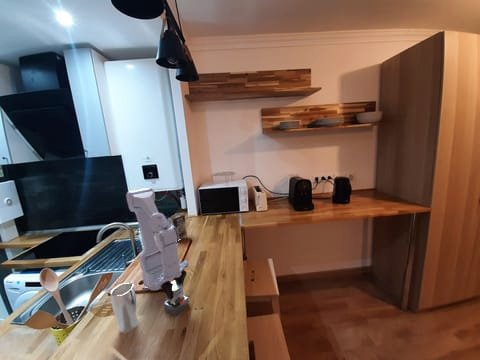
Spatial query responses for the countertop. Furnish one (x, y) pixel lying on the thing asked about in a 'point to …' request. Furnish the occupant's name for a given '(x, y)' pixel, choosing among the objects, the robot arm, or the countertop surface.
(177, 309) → the jack base
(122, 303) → the white tall cup
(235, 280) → the countertop surface
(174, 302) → the grooved grey block
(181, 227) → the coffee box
